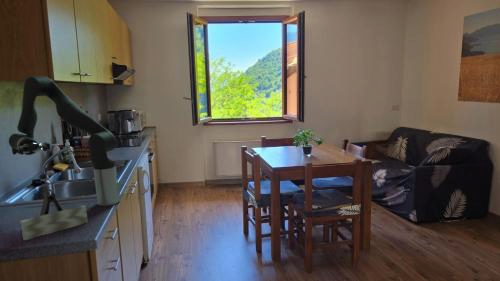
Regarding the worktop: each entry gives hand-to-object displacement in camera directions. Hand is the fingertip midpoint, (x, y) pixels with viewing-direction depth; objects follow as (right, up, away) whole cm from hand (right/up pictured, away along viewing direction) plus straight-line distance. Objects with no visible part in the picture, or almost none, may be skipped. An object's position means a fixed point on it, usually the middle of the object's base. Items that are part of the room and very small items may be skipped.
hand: (34, 150), depth 147 cm
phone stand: (+14, -27, -10) cm, 32 cm away
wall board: (+13, -30, -9) cm, 34 cm away
